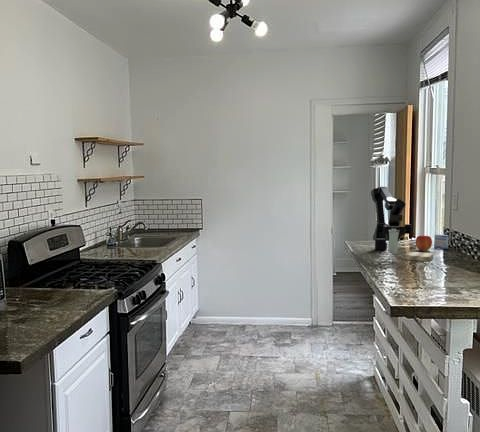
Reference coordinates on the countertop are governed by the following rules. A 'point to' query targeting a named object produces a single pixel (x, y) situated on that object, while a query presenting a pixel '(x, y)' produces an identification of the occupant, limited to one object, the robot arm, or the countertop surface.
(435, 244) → the medicine box
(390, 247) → the sage bottle
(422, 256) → the birch pad
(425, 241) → the apple
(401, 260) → the countertop surface
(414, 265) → the countertop surface
